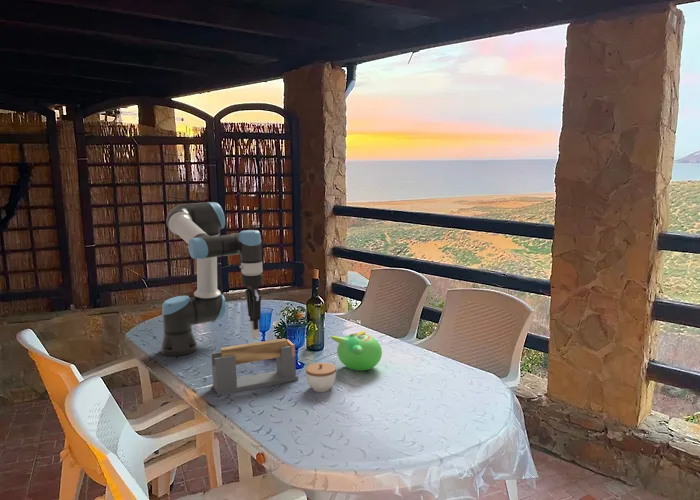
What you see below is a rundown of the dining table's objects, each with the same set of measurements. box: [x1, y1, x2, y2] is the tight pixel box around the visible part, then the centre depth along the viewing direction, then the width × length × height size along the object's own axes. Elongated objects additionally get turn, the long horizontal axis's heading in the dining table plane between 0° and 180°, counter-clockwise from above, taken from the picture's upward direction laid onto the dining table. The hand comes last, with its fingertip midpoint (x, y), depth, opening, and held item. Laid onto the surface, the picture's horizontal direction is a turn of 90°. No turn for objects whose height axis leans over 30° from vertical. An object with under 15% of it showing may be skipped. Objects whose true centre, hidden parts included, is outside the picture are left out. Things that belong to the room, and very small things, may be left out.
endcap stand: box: [210, 339, 299, 396], centre depth 202 cm, size 9×30×14 cm, turn 115°
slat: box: [220, 338, 288, 366], centre depth 201 cm, size 3×24×6 cm, turn 114°
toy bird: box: [330, 330, 383, 372], centre depth 214 cm, size 18×17×15 cm
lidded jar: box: [305, 362, 337, 393], centre depth 196 cm, size 11×11×9 cm
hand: (255, 337), depth 200 cm, fingers closed
